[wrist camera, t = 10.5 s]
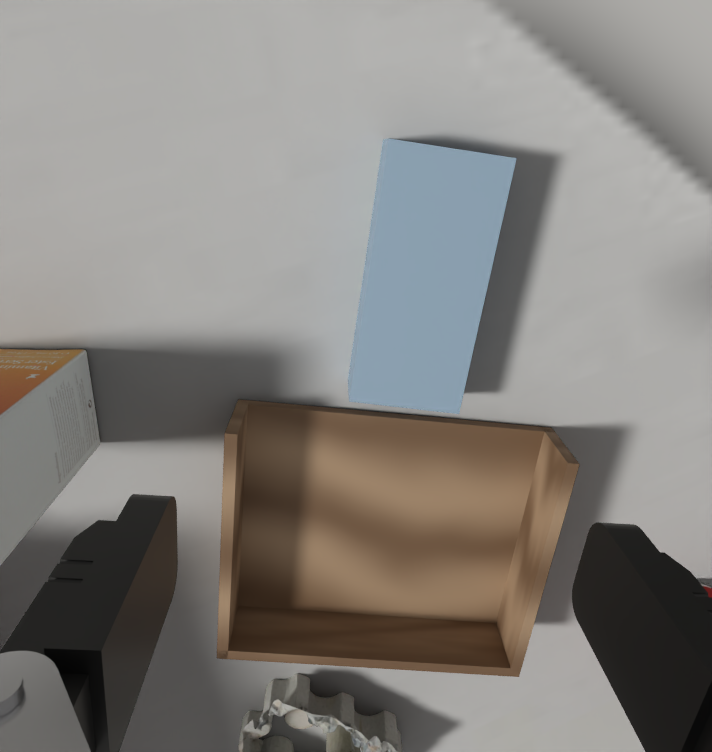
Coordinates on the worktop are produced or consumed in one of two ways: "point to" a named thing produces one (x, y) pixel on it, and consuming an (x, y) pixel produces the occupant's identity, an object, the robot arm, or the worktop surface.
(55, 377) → the small box
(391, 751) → the egg carton
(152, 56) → the worktop surface
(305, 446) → the walnut box
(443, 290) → the light blue block
